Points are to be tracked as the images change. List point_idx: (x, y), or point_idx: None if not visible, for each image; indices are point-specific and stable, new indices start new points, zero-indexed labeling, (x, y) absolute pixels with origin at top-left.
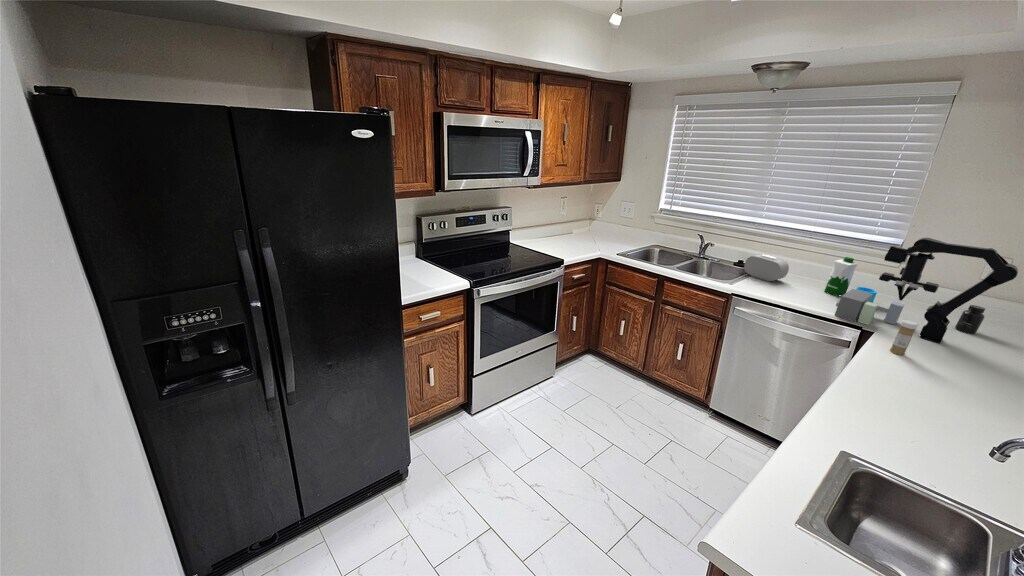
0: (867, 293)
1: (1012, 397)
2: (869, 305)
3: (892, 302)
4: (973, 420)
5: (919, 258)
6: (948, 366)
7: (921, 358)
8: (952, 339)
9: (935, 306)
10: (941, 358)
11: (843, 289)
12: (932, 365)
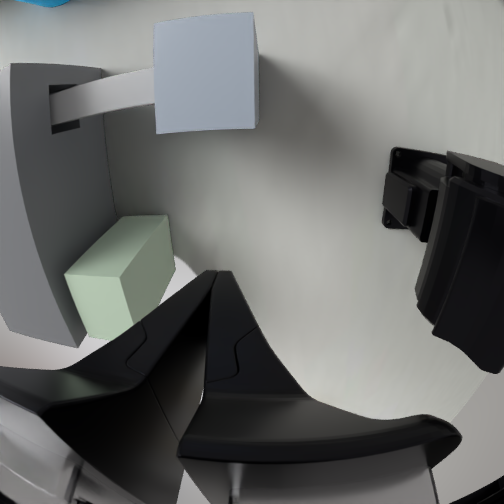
0: None
1: (466, 401)
2: (112, 338)
3: (155, 76)
4: None
5: None
6: (413, 386)
7: (363, 396)
8: (480, 109)
9: (486, 361)
10: (413, 358)
11: None
12: (380, 407)
